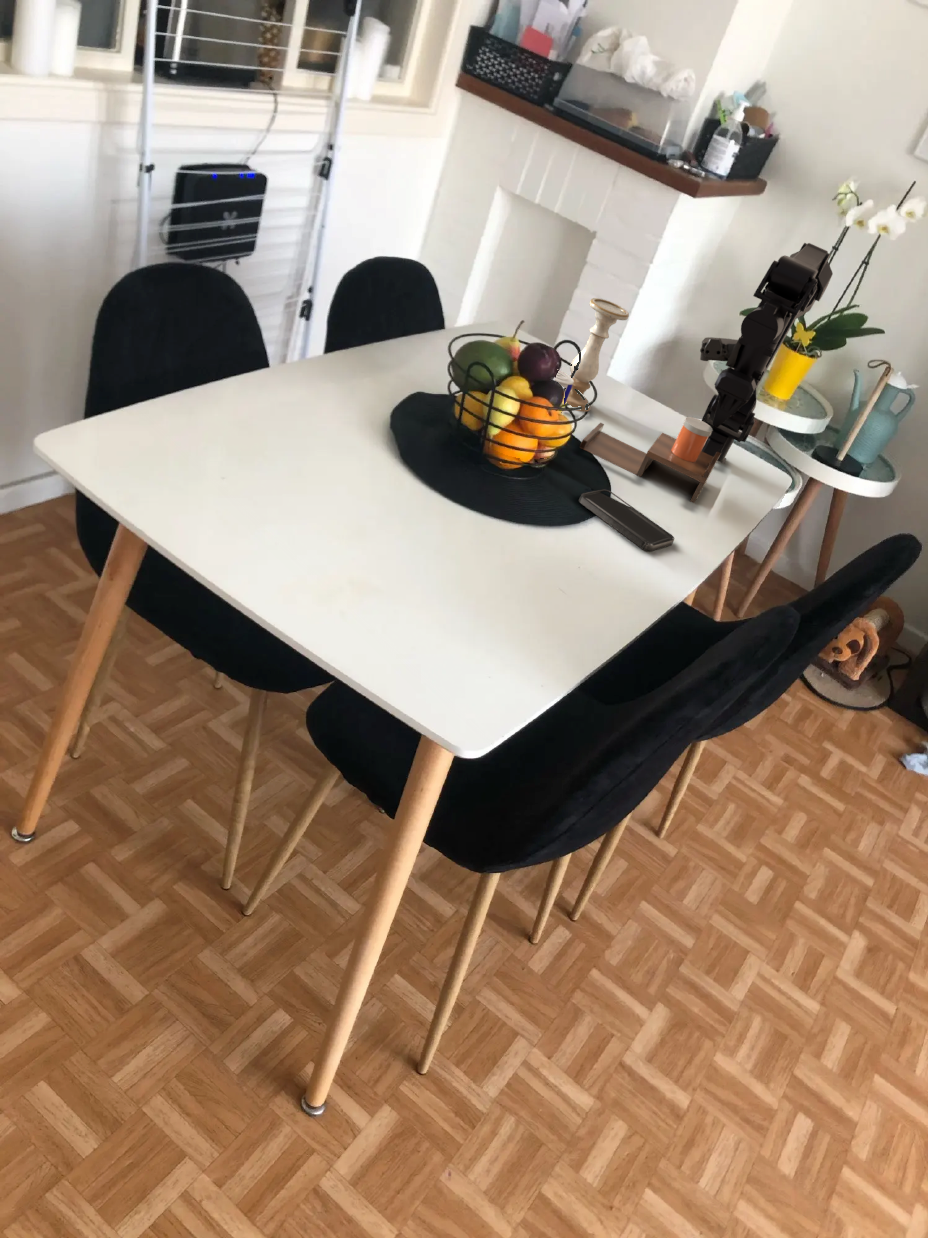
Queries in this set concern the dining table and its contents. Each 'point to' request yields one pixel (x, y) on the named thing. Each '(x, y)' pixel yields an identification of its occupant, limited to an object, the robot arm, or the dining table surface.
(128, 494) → the dining table surface
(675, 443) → the spice jar
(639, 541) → the phone
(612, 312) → the candle holder
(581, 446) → the step rack
